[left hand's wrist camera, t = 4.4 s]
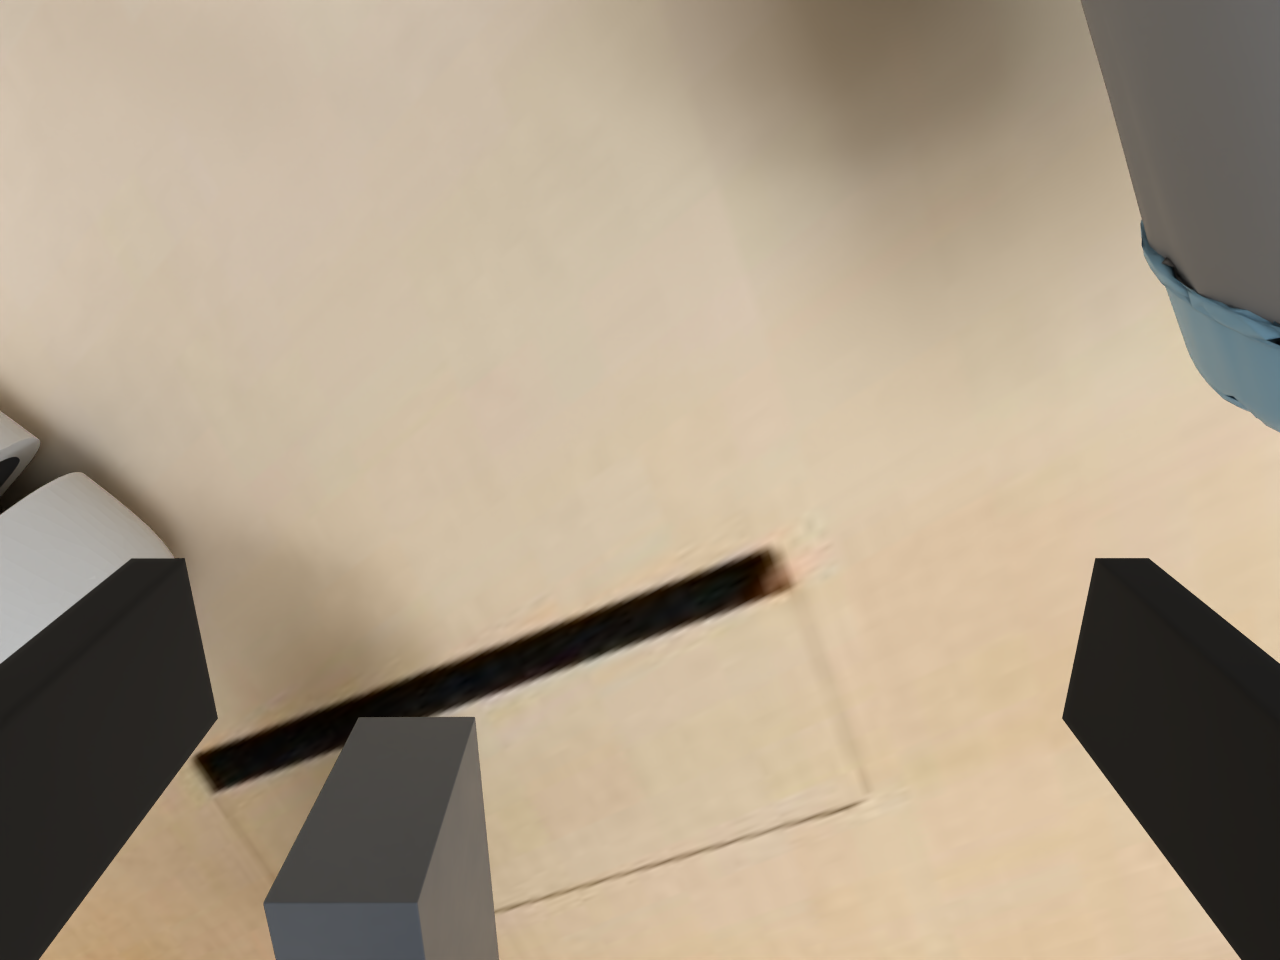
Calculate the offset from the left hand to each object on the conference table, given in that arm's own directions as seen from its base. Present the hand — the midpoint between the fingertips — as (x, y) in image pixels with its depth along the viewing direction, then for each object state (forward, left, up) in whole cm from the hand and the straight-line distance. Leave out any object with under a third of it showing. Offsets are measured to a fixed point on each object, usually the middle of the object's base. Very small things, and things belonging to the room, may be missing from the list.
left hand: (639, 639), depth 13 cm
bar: (+27, -2, -17) cm, 32 cm away
